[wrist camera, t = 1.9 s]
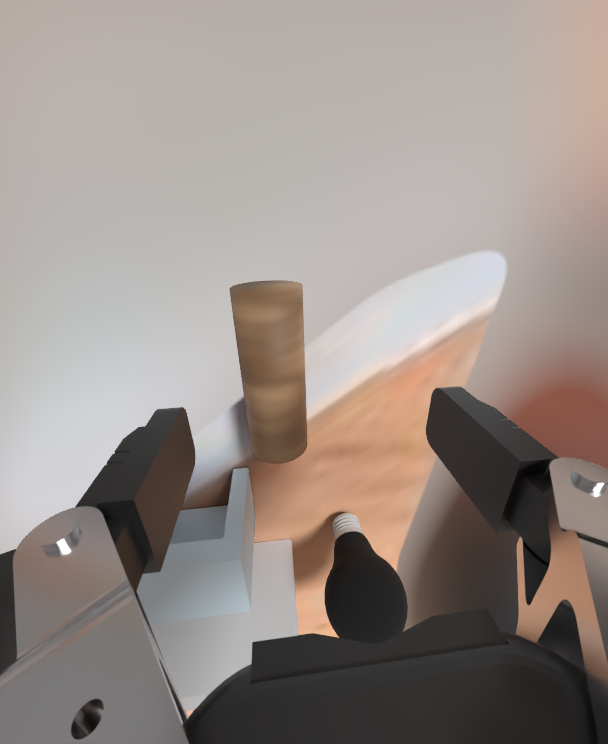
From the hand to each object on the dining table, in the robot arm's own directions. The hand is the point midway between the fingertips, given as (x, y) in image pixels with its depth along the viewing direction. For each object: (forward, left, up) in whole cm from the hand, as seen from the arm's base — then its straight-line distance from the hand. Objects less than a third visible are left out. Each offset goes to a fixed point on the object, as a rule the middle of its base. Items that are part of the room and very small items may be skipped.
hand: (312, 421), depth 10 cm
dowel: (+3, 0, -11) cm, 11 cm away
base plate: (+21, -8, -11) cm, 25 cm away
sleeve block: (+15, -8, -11) cm, 20 cm away
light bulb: (+19, +4, -11) cm, 22 cm away
